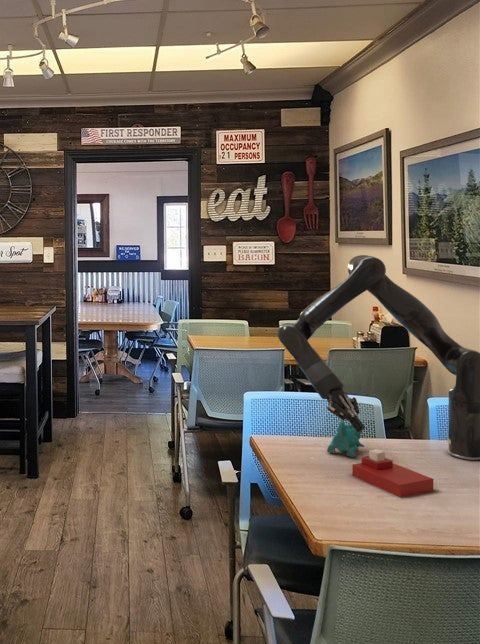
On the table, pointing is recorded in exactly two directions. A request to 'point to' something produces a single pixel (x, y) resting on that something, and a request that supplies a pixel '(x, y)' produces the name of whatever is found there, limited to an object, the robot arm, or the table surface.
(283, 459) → the table surface
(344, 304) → the robot arm
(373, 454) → the white cube
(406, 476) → the red push button box
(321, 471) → the table surface
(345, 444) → the toy
